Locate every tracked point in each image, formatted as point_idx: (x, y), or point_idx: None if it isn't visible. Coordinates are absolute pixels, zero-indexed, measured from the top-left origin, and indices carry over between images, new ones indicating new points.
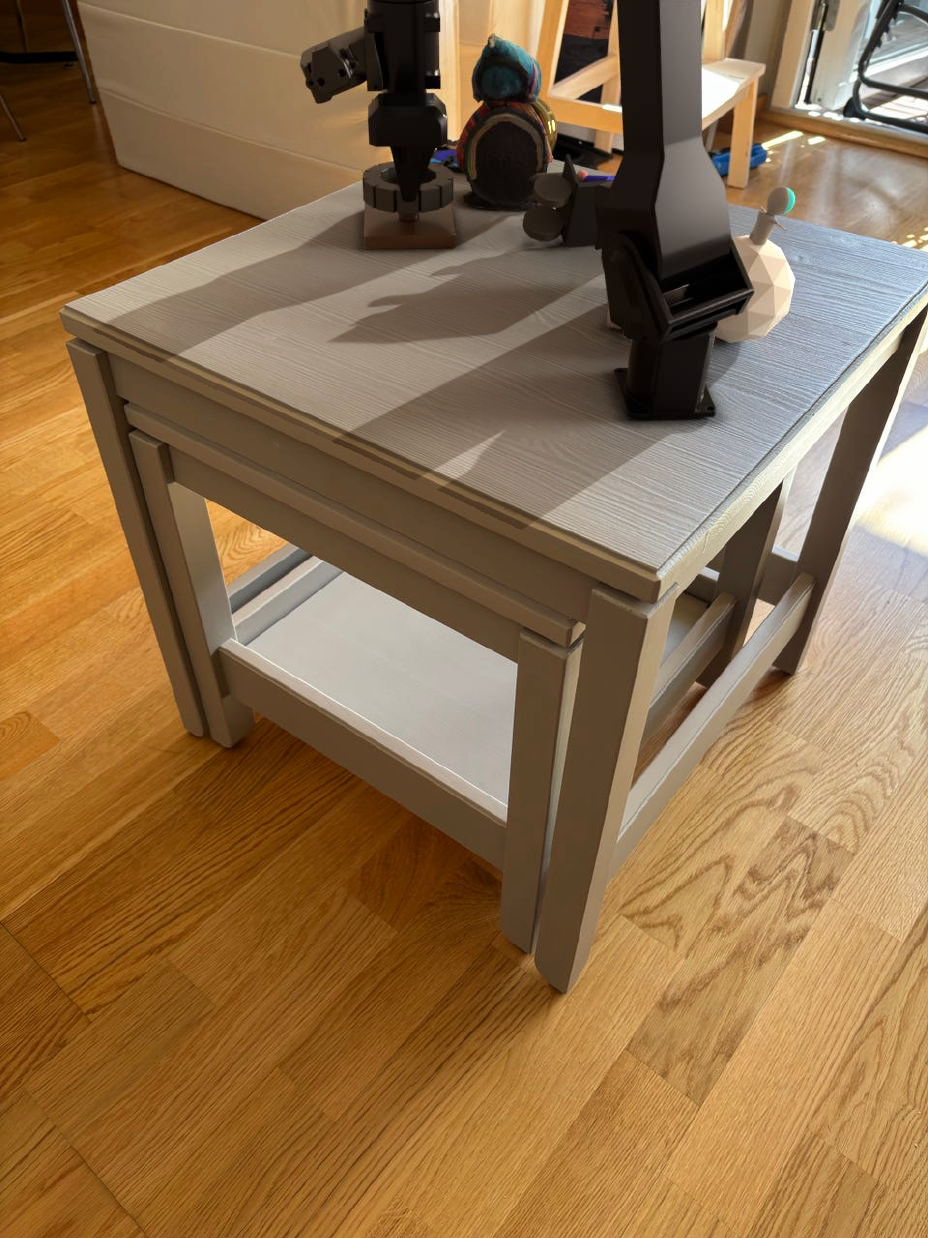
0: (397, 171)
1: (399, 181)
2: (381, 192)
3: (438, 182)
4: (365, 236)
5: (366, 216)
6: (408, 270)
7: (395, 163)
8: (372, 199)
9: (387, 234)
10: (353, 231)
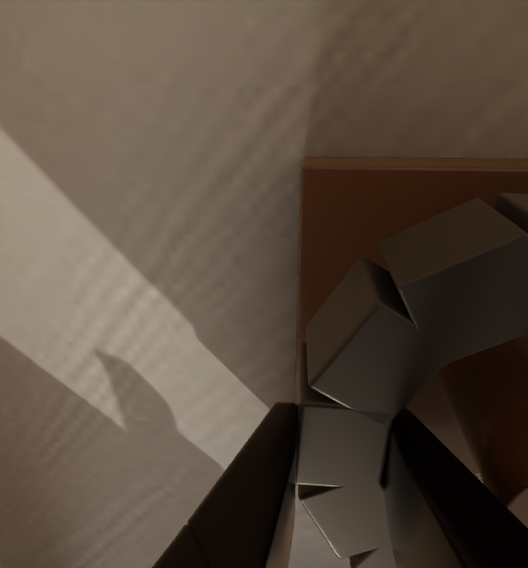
0: (197, 510)
1: (232, 464)
2: (346, 321)
3: None
4: (303, 171)
5: (523, 177)
6: (134, 298)
7: (162, 555)
8: (390, 253)
9: (313, 259)
10: (492, 106)
